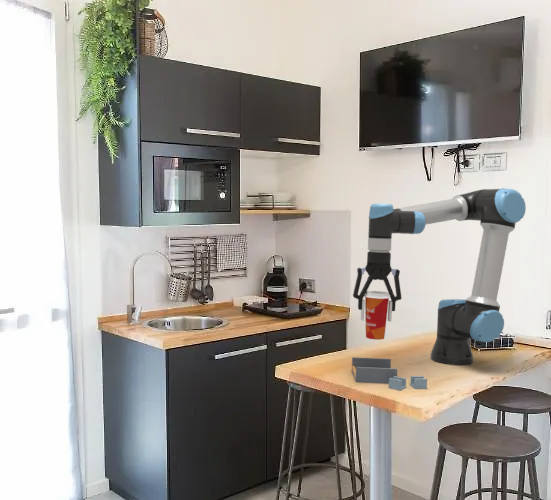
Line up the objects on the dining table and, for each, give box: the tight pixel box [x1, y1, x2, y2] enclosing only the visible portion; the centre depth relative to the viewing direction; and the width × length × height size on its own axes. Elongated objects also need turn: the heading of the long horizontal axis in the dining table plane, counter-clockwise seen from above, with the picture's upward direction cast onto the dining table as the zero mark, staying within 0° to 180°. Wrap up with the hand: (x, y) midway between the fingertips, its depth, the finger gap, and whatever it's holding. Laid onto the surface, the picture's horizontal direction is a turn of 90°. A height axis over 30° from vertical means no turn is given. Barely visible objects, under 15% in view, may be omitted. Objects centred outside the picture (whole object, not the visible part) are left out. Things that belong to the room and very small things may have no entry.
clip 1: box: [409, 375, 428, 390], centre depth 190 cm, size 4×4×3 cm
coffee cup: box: [364, 290, 391, 340], centre depth 198 cm, size 8×8×15 cm
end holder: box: [351, 356, 398, 385], centre depth 199 cm, size 13×14×5 cm
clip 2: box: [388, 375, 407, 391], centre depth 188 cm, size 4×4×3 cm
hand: (375, 320), depth 198 cm, fingers closed on coffee cup, 8 cm apart
